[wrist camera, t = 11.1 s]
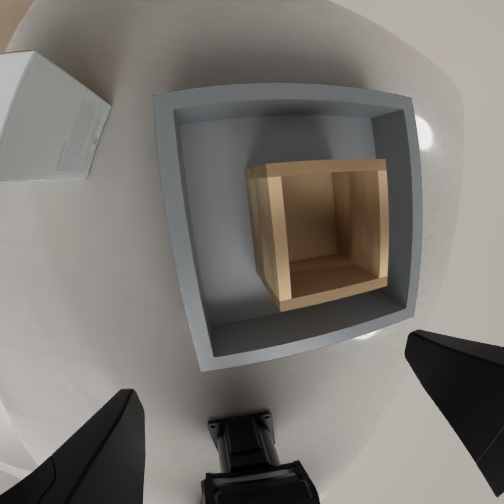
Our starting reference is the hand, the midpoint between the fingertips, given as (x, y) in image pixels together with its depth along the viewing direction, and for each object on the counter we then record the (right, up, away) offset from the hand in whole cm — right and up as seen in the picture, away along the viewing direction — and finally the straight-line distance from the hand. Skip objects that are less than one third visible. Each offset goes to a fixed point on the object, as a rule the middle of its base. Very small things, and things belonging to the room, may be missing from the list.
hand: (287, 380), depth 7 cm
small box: (-15, +13, +7) cm, 21 cm away
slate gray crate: (+2, +6, +12) cm, 14 cm away
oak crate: (+2, +6, +11) cm, 13 cm away
